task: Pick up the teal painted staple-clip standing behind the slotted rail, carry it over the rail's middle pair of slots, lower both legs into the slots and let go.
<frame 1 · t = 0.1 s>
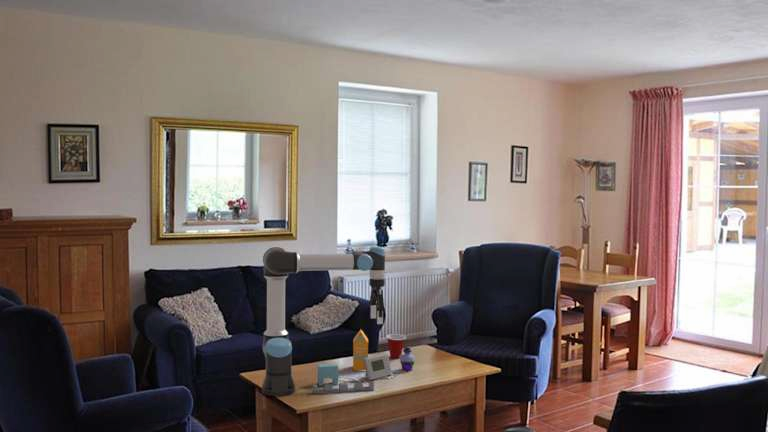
hand: (376, 321, 333), 28 cm above the table, fingers open, 13 cm apart
clip: (327, 383, 322), on the table
plastic cup: (395, 357, 373), on the table
rail: (343, 391, 310), on the table
potion bottle: (406, 370, 348), on the table
orange juice: (360, 369, 349), on the table
digital clock: (377, 377, 334), on the table
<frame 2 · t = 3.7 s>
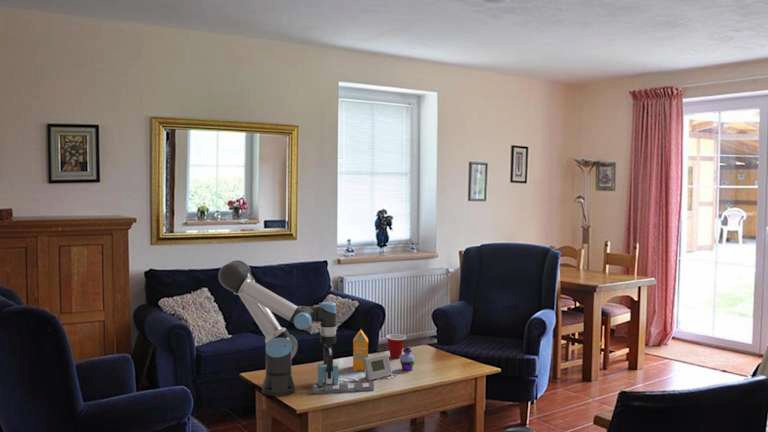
hand: (327, 383, 322), 0 cm above the table, fingers closed on clip, 4 cm apart
clip: (327, 383, 322), on the table, touching gripper
everything else where it was.
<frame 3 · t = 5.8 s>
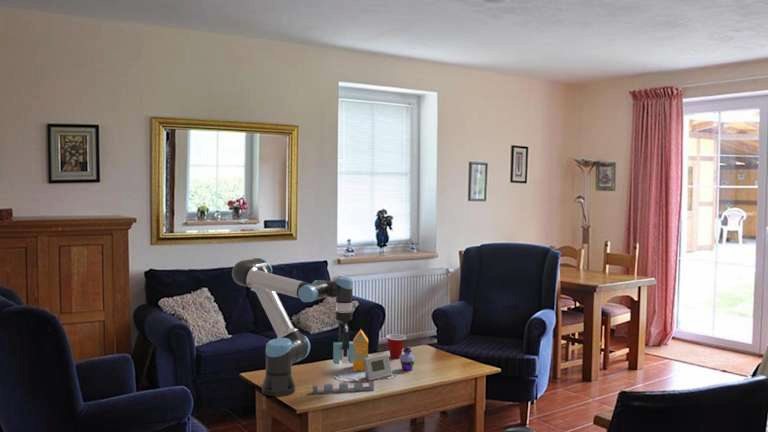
hand: (343, 361, 310), 14 cm above the table, fingers closed on clip, 4 cm apart
clip: (343, 362, 310), point 13 cm above the table, touching gripper
everything else where it was.
when the fingers open (2 cm above the table, at t = 7.7 s): clip stays where it is, resting on rail.
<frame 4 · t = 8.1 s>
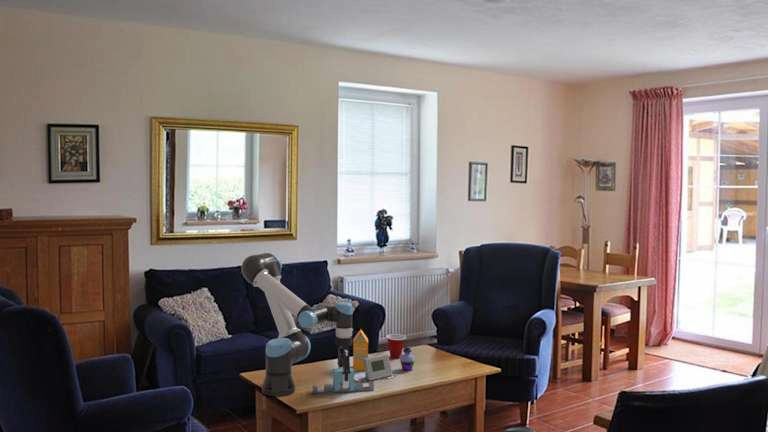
hand: (343, 384, 310), 3 cm above the table, fingers open, 10 cm apart
clip: (343, 389, 310), point 1 cm above the table, touching rail
everything else where it was.
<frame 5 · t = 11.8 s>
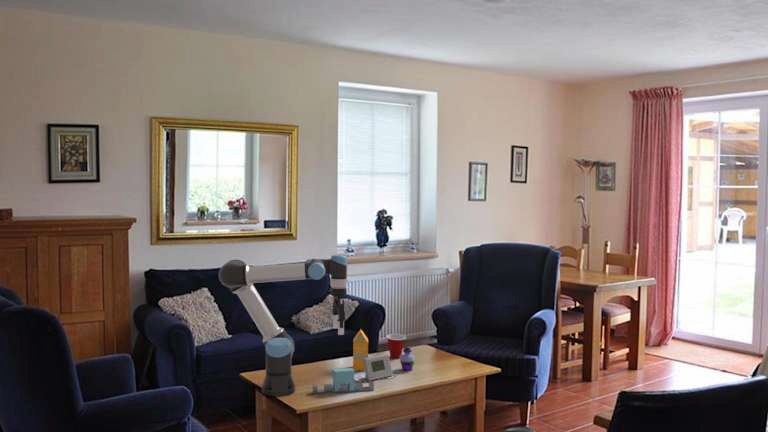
hand: (338, 331, 323), 25 cm above the table, fingers open, 13 cm apart
nothing on the table moved.
at the end: clip 0.1 cm off-centre on the rail, point 1.0 cm above the rail's base; clip tilted 0°; the gripper is holding nothing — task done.
